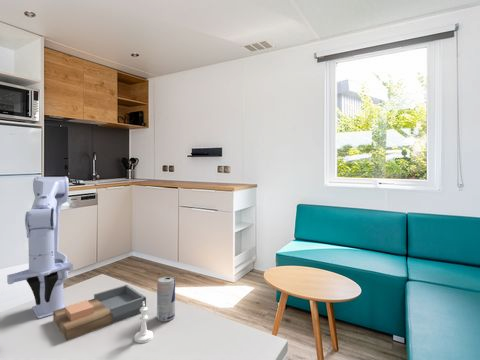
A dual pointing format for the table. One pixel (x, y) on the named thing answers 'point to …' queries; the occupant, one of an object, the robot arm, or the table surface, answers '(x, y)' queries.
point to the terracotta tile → (79, 310)
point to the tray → (121, 302)
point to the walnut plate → (83, 321)
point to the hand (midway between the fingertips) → (42, 302)
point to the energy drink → (166, 298)
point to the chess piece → (143, 328)
